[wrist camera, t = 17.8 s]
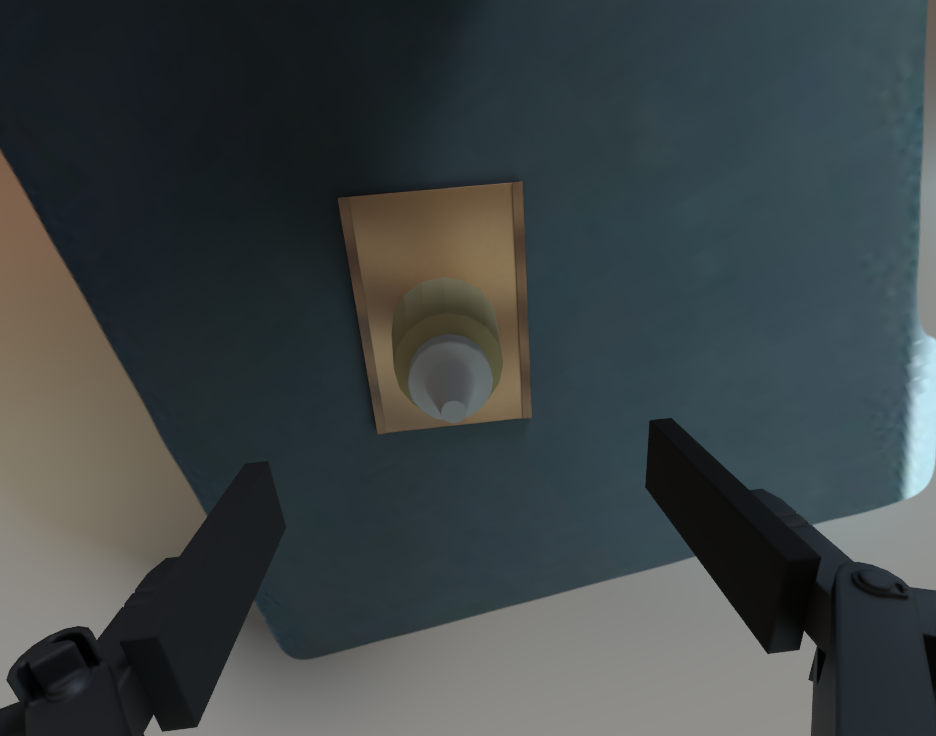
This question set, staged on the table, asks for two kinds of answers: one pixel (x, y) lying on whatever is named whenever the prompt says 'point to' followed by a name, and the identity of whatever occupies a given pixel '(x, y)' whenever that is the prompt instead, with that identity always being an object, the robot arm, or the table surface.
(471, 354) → the squeeze bottle
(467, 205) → the brown flat rectangular board
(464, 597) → the table surface
